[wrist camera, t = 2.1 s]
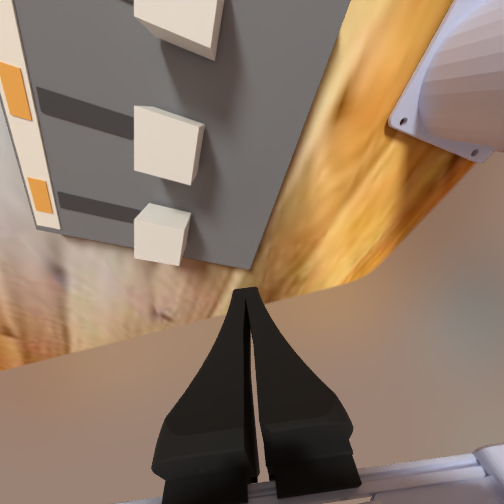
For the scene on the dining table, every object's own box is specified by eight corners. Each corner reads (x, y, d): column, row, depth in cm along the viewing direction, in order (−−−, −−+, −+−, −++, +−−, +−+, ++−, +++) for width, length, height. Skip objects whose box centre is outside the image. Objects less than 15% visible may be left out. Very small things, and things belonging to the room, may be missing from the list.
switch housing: (339, 8, 12) (353, -6, 10) (248, 260, 21) (249, 270, 20) (-50, -202, 8) (-110, -269, 6) (50, 220, 17) (34, 230, 16)
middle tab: (205, 124, 13) (198, 127, 10) (197, 173, 14) (190, 185, 12) (152, 106, 12) (133, 105, 10) (150, 160, 14) (134, 170, 11)
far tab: (191, 212, 16) (184, 230, 14) (186, 245, 17) (179, 266, 15) (149, 202, 15) (134, 219, 13) (147, 237, 17) (134, 257, 14)
